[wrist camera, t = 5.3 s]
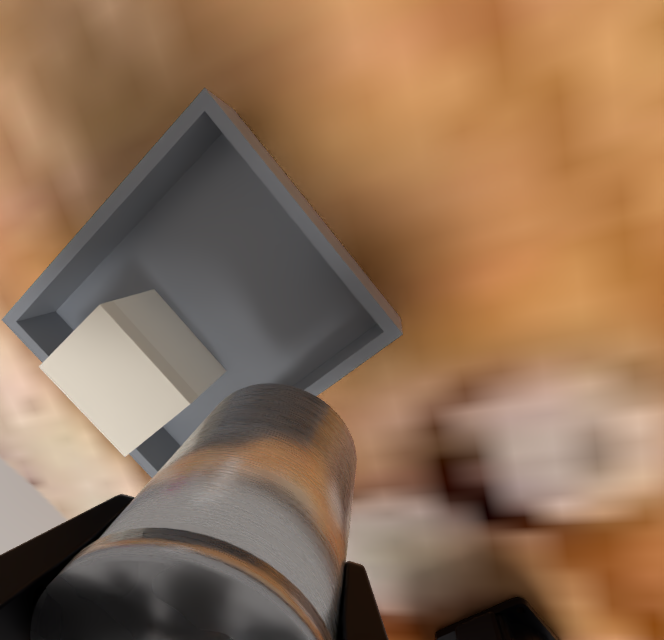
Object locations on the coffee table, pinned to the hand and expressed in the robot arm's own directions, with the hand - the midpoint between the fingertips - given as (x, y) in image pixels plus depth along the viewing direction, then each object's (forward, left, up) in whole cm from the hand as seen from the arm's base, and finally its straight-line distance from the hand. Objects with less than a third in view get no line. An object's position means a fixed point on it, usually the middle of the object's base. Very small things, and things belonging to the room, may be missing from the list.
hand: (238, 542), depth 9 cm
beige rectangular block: (+6, +7, -12) cm, 15 cm away
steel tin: (0, 0, -3) cm, 3 cm away
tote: (+6, +3, -12) cm, 14 cm away
